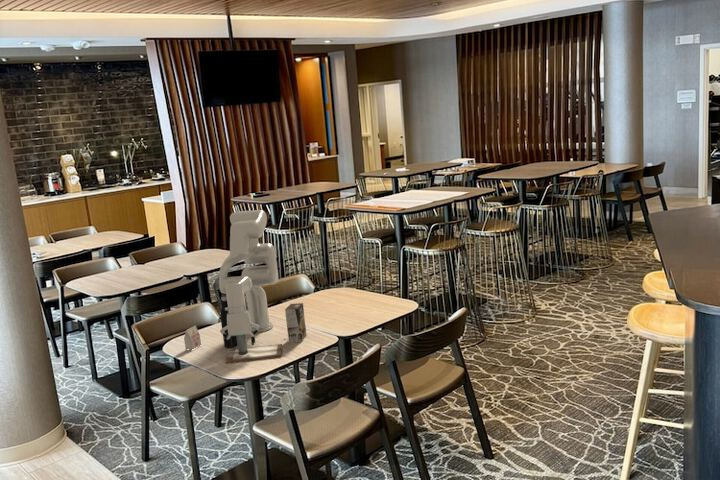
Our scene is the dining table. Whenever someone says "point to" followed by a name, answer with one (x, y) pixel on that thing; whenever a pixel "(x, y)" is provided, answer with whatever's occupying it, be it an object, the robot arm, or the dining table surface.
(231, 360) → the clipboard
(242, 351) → the marker
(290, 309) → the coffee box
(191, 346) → the red and white box
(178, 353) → the dining table surface
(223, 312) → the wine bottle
